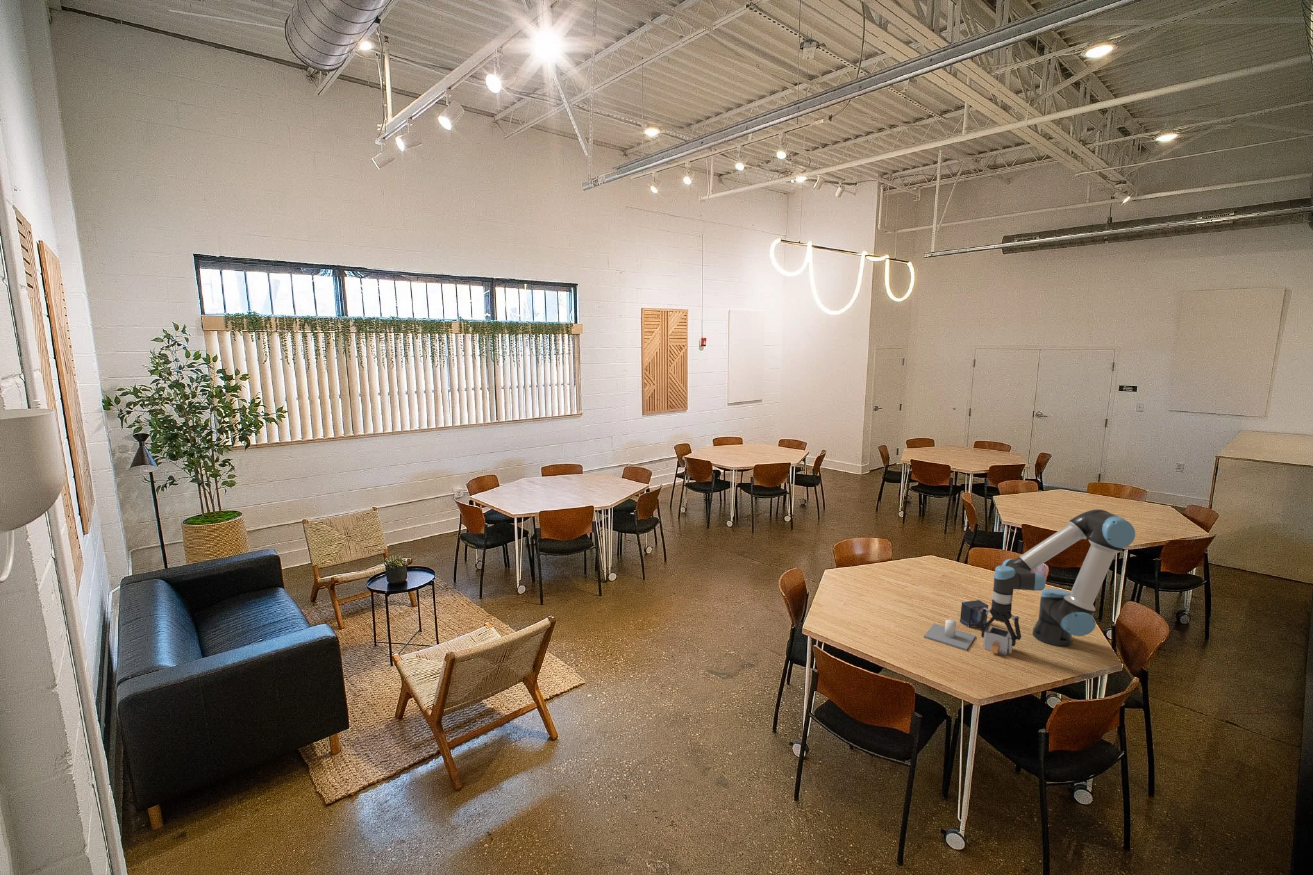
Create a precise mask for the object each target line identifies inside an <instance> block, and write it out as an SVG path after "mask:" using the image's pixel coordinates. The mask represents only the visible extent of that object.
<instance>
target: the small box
mask: <svg viewBox="0 0 1313 875" xmlns="http://www.w3.org/2000/svg"><path fill="white" fill-rule="evenodd" d="M960 607H961V609H960V618H959V623H961V624H963V625H965V627H968V628H973V627H974V628H975V627H978V624H979V622H980V620H981V617H982V615H983V609H984V608H987V609H989V605H988V604H986V603H985V602H983V601H982V600H981V599H976V600H975V599H974V600H969V601H963V602H961V606H960ZM987 620H988V614H987V615H986V617H985V619H984V622H983V624H982V626H983V627H984V626H985V624H986V623H987V622H988V621H987Z"/></svg>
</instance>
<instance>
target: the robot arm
mask: <svg viewBox="0 0 1313 875" xmlns="http://www.w3.org/2000/svg"><path fill="white" fill-rule="evenodd" d="M1135 538H1136V529H1135V527H1134V526H1133V524H1132V523H1130V521H1128V520H1127V519H1125V518H1123V517H1121V516H1119V515H1116V514H1113V513H1111V512H1109V511H1107V510H1104V509H1097V508H1096V509H1091V510H1087V511H1085V512H1082V513H1080V514H1078V515H1076V516H1074V517H1073V518H1071V519H1069V521H1067V525H1065V526H1064V527H1062V528H1061V529H1059V530H1058V531H1056V532H1054V533H1053V534H1052V535H1050V536H1048V537H1047V538H1045V539H1044V540H1042V541H1041V542H1039V543H1038V544H1036V545H1034V546H1033V547H1032V548H1030V549H1029V550H1027V551H1026V552H1024V553H1023V554H1021V555H1019V556H1018V557H1016V558H1015V559H1014V558H1008V559H1007V558H1006V559H1005V560H1004V561H1003V562H1002V564H1001V565H998V566H996V567H995V569H994V575H993V588H992V596H991V598H992V599H991V607H990V609H989V608H988V609H987V608H984V609H983V615H982V617H981V620H980V622H979V624H978V626H977V629H979V630H981V634H980V635H981V638H983V644H982V646H984V647H985V641H986V632H987V630H988V629H989V628H988V627H990V626H991V625H992V623H993V622H994V621H996V622H997V621H998V622H1001V623H1004V625H1005V627H1006V628H1007V629H1006V630H1008V631H1009V633H1010V635H1011V638H1010V645H1009V651H1008V654H1012V652H1013V647H1015V646H1016V641H1020V640H1021V638H1022V634H1021V628H1020V622H1019V619H1020V616H1019V615H1014V614H1012V605H1013V604H1012V602H1013V595H1014V590H1018V591H1019V590H1020V591H1021V590H1022V591H1032V592H1035V591H1036V592H1037V591H1039V592H1040V591H1041V594H1040V596H1039V598H1040V601H1039V610H1038V611H1039V612H1038V619H1037V621H1036V622H1035V624H1034V626H1033V628H1032V636H1033V637H1034V638H1036V640H1038V641H1041V642H1042V643H1046V644H1049V645H1050V646H1051V645H1052V646H1057V647H1068V646H1071V645H1072V644H1073V636H1075V637H1084V636H1085V635H1089V634H1091V633H1092V632H1093V631H1094V630H1095V629H1096V625H1097V624H1096V623H1097V622H1096V620H1095V617H1094V614H1095V611H1096V608H1095V606H1094V602H1095V600H1096V598H1097V596H1098V594H1099V592H1100V589H1101V587H1102V585H1103V582H1104V580H1105V578H1106V575H1107V574H1108V571H1109V569H1110V566H1111V565H1112V562H1113V560H1114V558H1115V555H1116V554H1118V553H1122V551H1123V548H1127V547H1128V546H1131V544H1133V542H1134V541H1135ZM1087 539H1088V542H1089V544H1090V546H1089V549H1088V552H1087V553H1086V556H1085V558H1084V560H1083V562H1082V565H1081V567H1080V569H1079V572H1078V574H1077V576H1076V579H1075V582H1074V584H1073V585H1072V588H1071V590H1070V592H1069V591H1066V590H1064V589H1063V590H1062V589H1057V588H1046V583H1047V581H1046V579H1045V576H1044V575H1043V574H1042V573H1039V572H1031V571H1033V570H1035V569H1036V568H1038V567H1040V566H1041V565H1043V564H1044V563H1046V562H1047V561H1049V560H1051V559H1052V558H1053V557H1055V556H1057V555H1059V554H1060V553H1061V552H1063V551H1065V550H1066V549H1068V548H1070V547H1071V546H1073V545H1074V544H1076V543H1077V542H1078V541H1081V540H1087ZM989 613H990V615H991V616H992V617H990V619H989V620H988V621H987V623H986V624H985V625H983V626H982V624H983V622H984V619H985V617H986V615H987V616H988V614H989ZM1010 619H1012V622H1013V623H1014V624H1013V625H1014V629H1015V631H1014V629H1013V626H1012V623H1011V621H1010Z"/></svg>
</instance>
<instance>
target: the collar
mask: <svg viewBox="0 0 1313 875" xmlns="http://www.w3.org/2000/svg"><path fill="white" fill-rule="evenodd" d="M988 627H989V628H987V629H986V630H987V632H986V641H985V646H984V650H986V651H990V652H991V653H992V654H1000V655H1002V656H1007V655H1008V654H1009V645H1010V638H1011V635H1010V633H1009V631H1008V629H1004V628H1001V627H997V626H993V625H989V626H988Z"/></svg>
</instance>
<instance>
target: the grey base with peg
mask: <svg viewBox="0 0 1313 875" xmlns="http://www.w3.org/2000/svg"><path fill="white" fill-rule="evenodd" d="M932 624H933V625H932V626H931V627H930V628H929V629H928V630H927V631H926V633H925V634H923V638H925V639H928V640H930V641H934V642H937V643H941V644H944V645H946V646H947V645H948V646H950V647H954V648H957V649H960V650H962V651H967V650H968V649H969V647H970V646H971V645H972V643H973V641H974V640H975V638H976V635H975V634H972V633H970V632H969V633H968V632H964V631H961V630H958V629H957V628H956V627H957V622H956V621H955V620H953V619H950V618H949V619H945V624H944V625H942V624H941V625H940V624H937V623H932Z"/></svg>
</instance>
